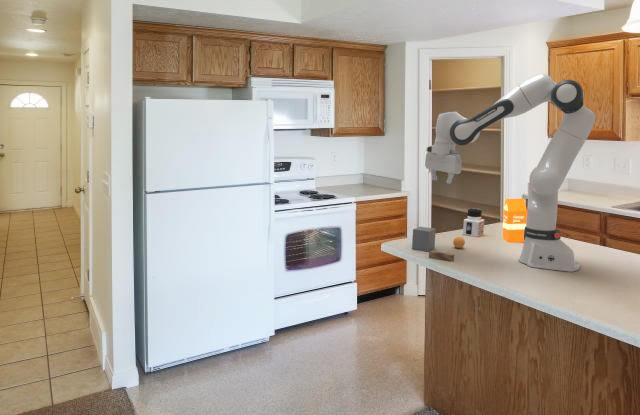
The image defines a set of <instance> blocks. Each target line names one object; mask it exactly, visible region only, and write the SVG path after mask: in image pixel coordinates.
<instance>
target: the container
mask: <svg viewBox="0 0 640 415" xmlns="http://www.w3.org/2000/svg"><path fill="white" fill-rule="evenodd" d="M482 214H483V213H482V210H481V209H480V208H476V207H475V208H468V209H467V215H466V216H467V218H464V219H463V226H462V228H463V229H462V236H469V237H474V238H479V237H481V236H483V235H484V231H485V230H484V228H485V219H483V218H482Z"/></svg>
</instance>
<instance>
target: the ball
mask: <svg viewBox="0 0 640 415" xmlns="http://www.w3.org/2000/svg"><path fill="white" fill-rule="evenodd" d="M465 243H466V242H465V239H464V237H461V236H457V237H455V238H453V242H452V244H453V247H455V248H457V249H462V248H464V246H465Z"/></svg>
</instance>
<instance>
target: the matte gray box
mask: <svg viewBox="0 0 640 415" xmlns="http://www.w3.org/2000/svg"><path fill="white" fill-rule="evenodd" d="M436 231H437V230H436V228H434V227H426V226H418V227H415V228H413V229H412V243H411V249H412V250H415V251H420V252H421V251H423V252H428V253H429V251H433V250H434V249H435V248H436V246H435V245H436Z"/></svg>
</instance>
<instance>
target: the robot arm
mask: <svg viewBox="0 0 640 415" xmlns="http://www.w3.org/2000/svg"><path fill="white" fill-rule="evenodd" d="M584 96H585V93H584V89H583V87H582V85H581V84H580V83H579V82H578V81H576V80H574V79H564V80H561V81H559V82H558V83H557V82H555V81H554V80H553V78H552V77H551V76H550V75H549V74H547V73H540V74H536V75H534V76H532V77H530V78H528V79H526V80H524V81H522V82H521V83H519V84H517V85H516V86H514V87H513V88H511V89H510V90H509V91H508V92H506V93H505V94H504V95H502V97H500V98H499V99H498V100H497V101H496V102H495V103H494V104H492V105H491V106H489V107H487V108H486V109H484V110H482V111H480V112H479V113H477V114H476V115H474V116H472V117H470V118H466V117H464V116H463V115H461V114H460V113H459V112H457V111H456V110H451V111H450V110H449V111H442V112H440V113H439V114H438V116H437V119H436V123H435V124H436V125H435V138H434V139H435V140H434V144H431V145H430V146H426V148H425V151H426V154H425V162H424V163H425V164H424V166H425V168H426V169H427V170H430V173H431V180H432V181H437V180H438V178H439V177H438V176H437V172H443V173H447V178H446V179H445V183H446V184H450V185H451V184H452V182H453V181H452V180H453V178H454V177H455V175H460V174H461V172H462V155H461V153H460V152H459V151H458V150H457V151H456V146H457V145H458V146H465V145H466V146H467V145H469V144H472V143H474V142H475V141H477V140H478V139H479V138H480V135H481V131H483V130H485V129H486V128H488V127H490V126H491V125H493V124H495V123H497V122H499V121H501V120H503V119H508V118H514V117H517V116H520V115H523V114H526V113H527V112H529V111H532V110H533V109H535V108H536V107H538V106H539V105H541V104H544V103H547V102H549V103H550V104H552V105H553V106H554V107H555V108H556V109H557V110H560V111H561V112H562V113H563V118H562V120H561V122H560V124H559V125H558V128H557V129H556V131H555V133H554V134H553V136H552V137H551V139H550V141H549V143H548V144H547V146H546V148H545V150H544V152H543V154H542V156H541V158H540V160H539V161H538V163H537V166H535V167H534V168H533V169H532V171H531V172H530V173H529V179H528V180H529V182H528V196H527V207H526V210H527V219H526V226H525V229H524V242H523V244H522V249H521V252H520V255H519V258H518V261H519V262H520V263H522V264H525V265H527V266H528V267H529V268H535V269H536V268H537V269H545V270H554V271H562V272H569V273H570V272H572V273H573V272H577V271H578V270H580V269H581V268H580V267H581V264H580V263H579V262H578V261H575V253H574V251H573V249H572V248H571V247H570V246H568V244H566V243H565V242H564V241H563V240H561V236H562V231H561V230H560V231H559V230H558V229H557V228H556V227H557V218H558V209H559V208H558V207H559V206H558V204H559V203H558V202H559V201H558V200H559V190H560V188H561V187H562V184H563V183H564V181H565V179H566V177H567V175H568V173H569V171H570V170H571V167H572V165H573V163H574V162H575V160H576V157H577V156H578V155H579V152H580V151H581V149H582V147H583V146H584V145H585V142H586V141H587V140H588V138H589V136H590V134H591V131H592V129H593V126H594V124H595V122H596V115H595V113H594V112H593V110H591V109H589V108H588V107H586V106H585V105H584Z"/></svg>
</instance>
